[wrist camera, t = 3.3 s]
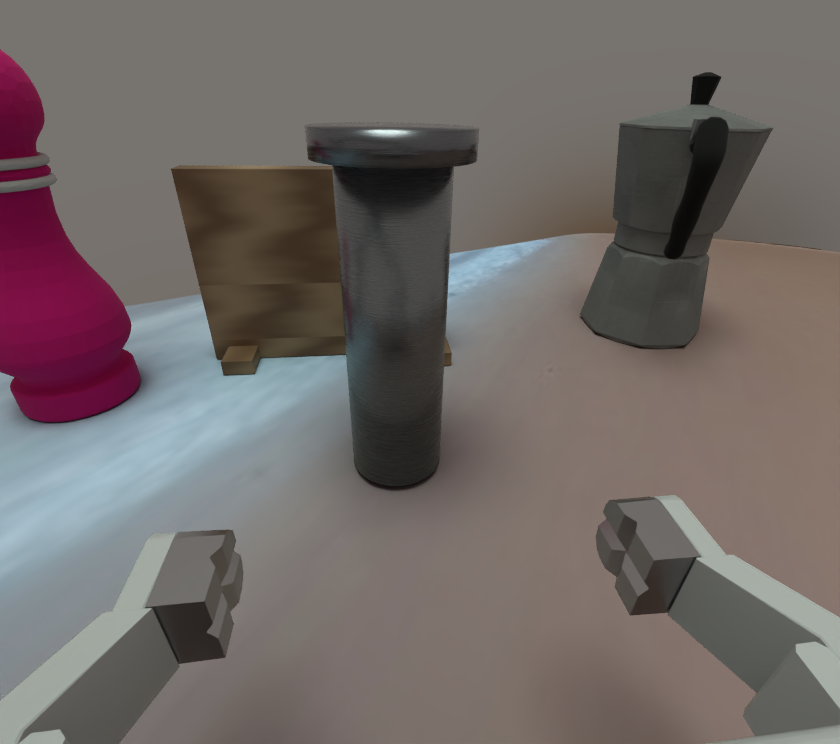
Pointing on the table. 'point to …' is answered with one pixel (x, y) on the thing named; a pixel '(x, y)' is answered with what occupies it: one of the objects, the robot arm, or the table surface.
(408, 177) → the hook
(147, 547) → the robot arm
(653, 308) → the coffeepot
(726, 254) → the table surface
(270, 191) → the board
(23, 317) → the pepper mill
